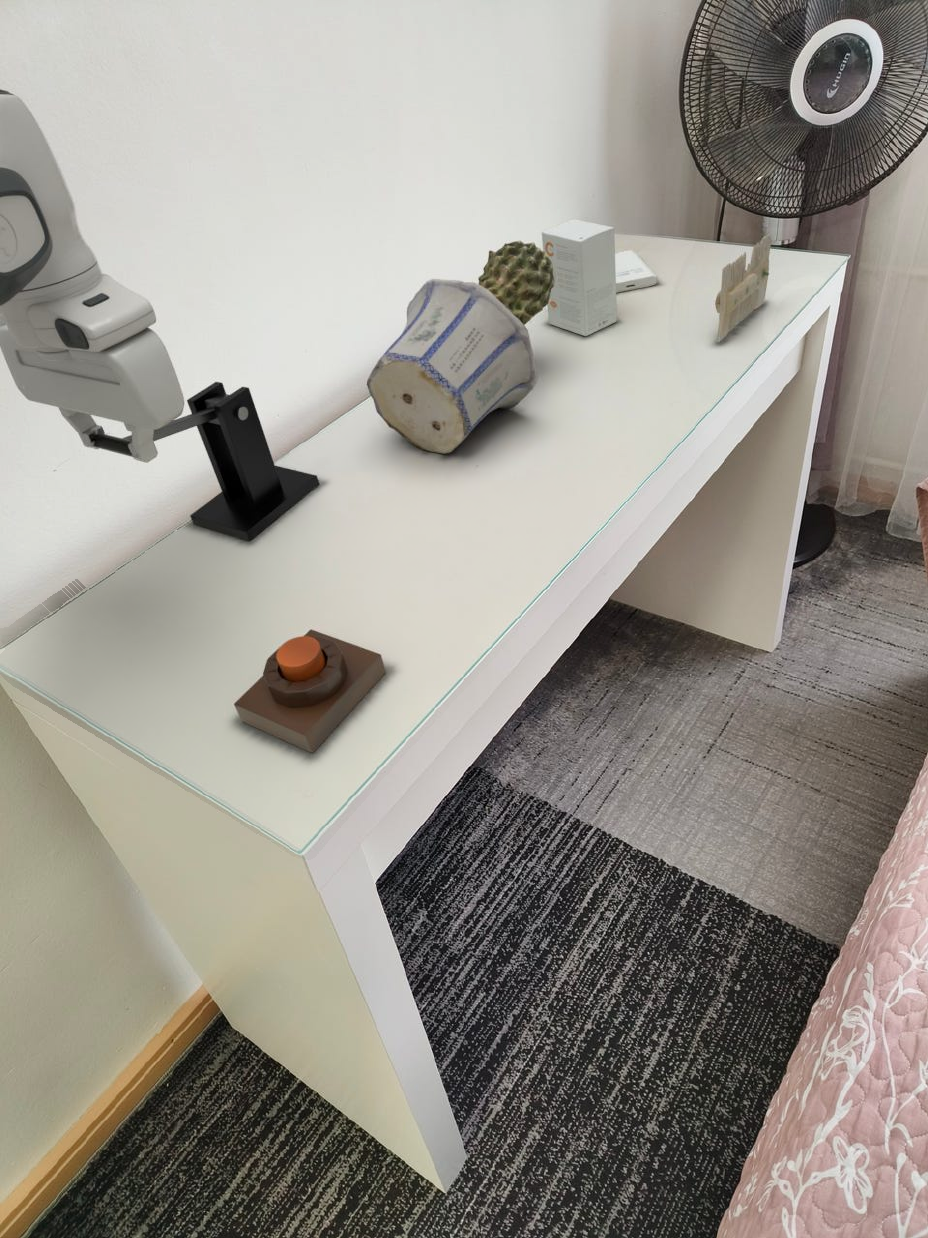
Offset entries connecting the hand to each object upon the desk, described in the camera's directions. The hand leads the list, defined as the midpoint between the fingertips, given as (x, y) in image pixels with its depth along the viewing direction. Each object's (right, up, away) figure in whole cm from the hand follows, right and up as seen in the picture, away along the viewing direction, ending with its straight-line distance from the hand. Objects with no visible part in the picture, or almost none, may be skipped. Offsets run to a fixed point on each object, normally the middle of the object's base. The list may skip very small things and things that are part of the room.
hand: (122, 452), depth 81 cm
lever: (+4, +3, +5) cm, 7 cm away
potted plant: (+36, +11, +27) cm, 46 cm away
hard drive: (+57, +38, +53) cm, 87 cm away
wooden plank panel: (+70, +24, +34) cm, 82 cm away
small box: (+50, +27, +42) cm, 70 cm away
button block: (+20, -23, -8) cm, 31 cm away
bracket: (+9, -3, +17) cm, 19 cm away
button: (+19, -20, -11) cm, 30 cm away
